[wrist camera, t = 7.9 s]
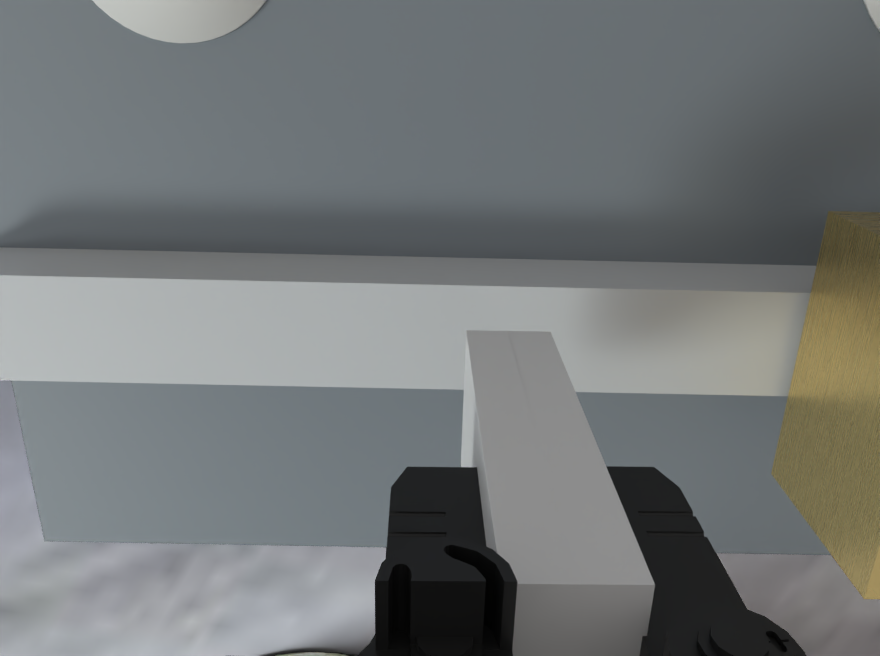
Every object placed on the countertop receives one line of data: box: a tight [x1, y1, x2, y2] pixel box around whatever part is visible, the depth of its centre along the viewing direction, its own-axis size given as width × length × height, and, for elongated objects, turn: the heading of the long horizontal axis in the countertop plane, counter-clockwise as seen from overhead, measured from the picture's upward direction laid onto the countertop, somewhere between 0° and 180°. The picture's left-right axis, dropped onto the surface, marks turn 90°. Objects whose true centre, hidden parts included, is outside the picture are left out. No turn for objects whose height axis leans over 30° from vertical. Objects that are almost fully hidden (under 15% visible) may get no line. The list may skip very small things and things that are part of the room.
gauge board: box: [0, 0, 880, 555], centre depth 14 cm, size 26×18×9 cm
